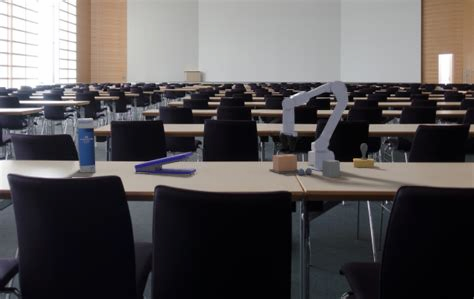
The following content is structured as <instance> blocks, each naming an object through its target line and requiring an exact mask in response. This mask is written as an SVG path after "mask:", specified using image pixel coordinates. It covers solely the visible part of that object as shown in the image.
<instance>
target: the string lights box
mask: <svg viewBox="0 0 474 299" xmlns="http://www.w3.org/2000/svg"><path fill="white" fill-rule="evenodd" d="M76 119H77V144H78V145H77V148H78V162H79V163H78V164H79V165H78V166H79V172H80V174H82V173H96V172H97V170H96V169H97V168H96V151H95V150H96V149H95V148H96V147H95V127H94V126H95V125H94V119H93V118H92V117H89V118H87V117H86V118H76Z"/></svg>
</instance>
